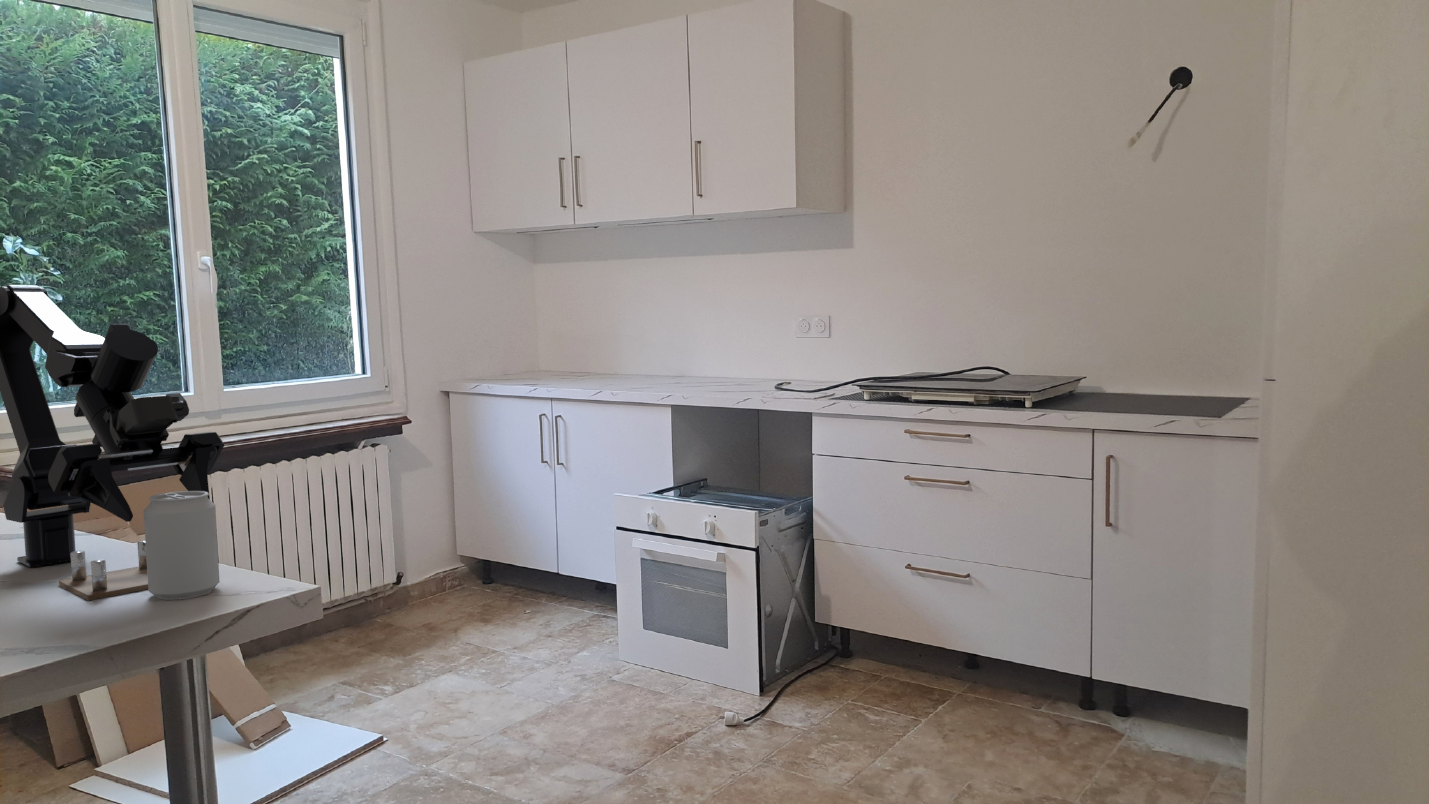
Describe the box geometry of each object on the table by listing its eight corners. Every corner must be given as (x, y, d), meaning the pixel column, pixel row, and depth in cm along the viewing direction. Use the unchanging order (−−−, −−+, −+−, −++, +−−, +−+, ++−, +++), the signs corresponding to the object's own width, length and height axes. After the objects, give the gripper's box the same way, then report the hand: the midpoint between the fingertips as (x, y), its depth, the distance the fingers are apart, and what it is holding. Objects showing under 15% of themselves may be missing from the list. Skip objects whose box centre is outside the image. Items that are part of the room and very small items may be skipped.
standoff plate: (59, 585, 121) (56, 552, 120) (155, 568, 129) (153, 537, 129) (88, 600, 113) (86, 565, 113) (188, 581, 122) (186, 548, 121)
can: (189, 603, 112) (183, 499, 111) (133, 600, 113) (126, 498, 112) (233, 586, 119) (228, 488, 118) (180, 583, 121) (175, 487, 120)
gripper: (52, 376, 110) (109, 479, 105) (211, 369, 126) (267, 458, 121) (25, 443, 115) (78, 544, 110) (181, 428, 131) (234, 515, 126)
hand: (170, 512), depth 117 cm, fingers open, 9 cm apart
